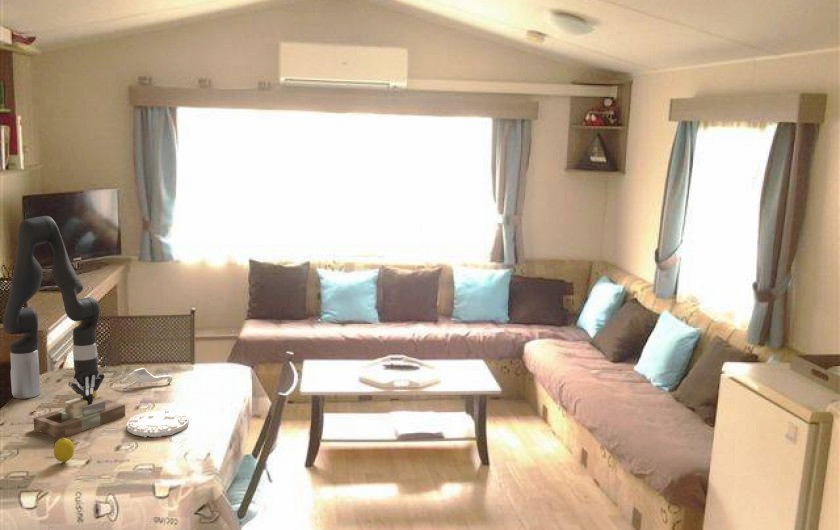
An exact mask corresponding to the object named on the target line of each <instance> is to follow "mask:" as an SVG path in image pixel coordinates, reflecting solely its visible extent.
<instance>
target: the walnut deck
mask: <svg viewBox="0 0 840 530" xmlns="http://www.w3.org/2000/svg"><path fill="white" fill-rule="evenodd" d="M77 398H79V399H83V396H81V395H80V396H78V397H75V398H72V399H68V400H65V402H67V401H71V400H74V399H77ZM65 402H64V403H65ZM123 417H126V406H125V404H124V403H123V404H122V403H120V402H118V401H117V402H116V401H113V400H110V399H107V398H104V397H99V396H97V398H95V399H93V402H92V404H90V405H87V406H84V407H82V414H81V415H78V416H75V417H74V416H71V415H68V414H65V407H64V408H60V409H57V410H54V411H51V412H47V413H44V414H42V415H39V416H35V417H33V430H34V429H35V430H34V431H37V430H38V431H37V432H40V431H41V432H40V433H42V432H43V434H45V433H46V435H48V436H51V437H53V438H56V439H58V440H59V439H61V438H63V437H64V438H66V437H70V436H72V435H75V434H79V433H80V432H81V433H82V432H84V431H87V430H89V428H90V429H92V428H95V427H97V426H100V425H103V424H106V423H109V422H112V421H114V420H117V419H120V418H123ZM86 429H87V430H86ZM83 430H84V431H83Z"/></svg>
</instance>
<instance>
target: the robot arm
mask: <svg viewBox="0 0 840 530" xmlns="http://www.w3.org/2000/svg"><path fill="white" fill-rule="evenodd" d="M47 243H48V245H50V247H51V249H52V251H53V259H52V266H51V268H52V269H51V270H52V271H51V275H52V278H53V281H54V282H55V283H54V284H56V286H57V288H58V290H59V292H60V294H61V297H62V302H63V307H64V311H65V315H66V316H67V317H68V318H69V320H71V321H73V322H79V321H80V322H81V323H79V325H77V326H76V327H74V328H73V330H72V344H73V347H72V348H73V349H72V355H73V357H72V359H73V370H74V376H73V379H72V381H69V382H68V384H67V385H68V386H69V387H70V388H71V389H72V390H73V391H74V392H75V393H76V394H77V395H80V396H81V395H83V400H86V401H87V402H88V405H90V404H92V402H93V392H94V391H96V392H97V391H98V390H99V387H100V386H101V385H102V383H103V381H104V379H105V374H102V373H101V372H99V370H98V369H99V368H98V367H99V362H98V361H99V359H98V358H99V357H98V347H97V339H96V337H97V336H96V335H97V334H96V330H97V326H98V323H99V317H100V312H101V311H100V310H101V309H100V305H99V302H98V300H97V299H96V298H94V297H93V296H92V297H91V296H90V297H89V296H88V297H85V298H84V297H83V298H80V299H78V296H77V295H80V293H81V292H82V291H83V290H84V286H83V284H82V282H81V279H80V278H79V276H78V274H77V272H76V271H75V270H74V267H73V265H72V263H71V261H70V258H69V255H68V252H67V249H66V246H65V243H64V240H63V237H62V235H61V232H60V228H59V226H58V225H57V223H56V222H55V220H54V219H53V218H52V217H51V216H49V215H42V216H35V217H31V218H27V219H24V220H22V221H21V222H20V223H19V227H18V233H17V247H16V249H17V250H16V258H15V264H14V268H13V273H12V278H11V285H10V291H9V296H8V301H7V304H6V307H5V309H4V313H3V316H2V317H3V318H2V327H3V328H2V329H4V330H3V331H4V332H5V333H6V334H8V335H22V334H23V335H22V336H21V337H20V338H18V339H17V340H15V341H12V342H11V343H10V345H9V355H10V371H9V372H10V385H11V395H12V397H13V398H15V399H31V398H34V397H37V396H39V395H41V381H40V380H41V379H40V362H39V360H40V358H39V318H38V317H39V316H38V313H37V311H36V309H35V308H34V307H32V306H31V307H30V306H28V307H23V306H24V305H25V304H26V303H28V301H30V300H31V299H32V298H33V297H34V296H35V295H36V294H37V292H38V291H39V289H40V288H41V285H42V279H43V275H44V274H43V273H44V271H43V268H42V266H41V264H40V263H39V261H37V259H36V258H35V256H34V250H35V247H36V246H39V245H43V244H47ZM80 388H81V389H80Z"/></svg>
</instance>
